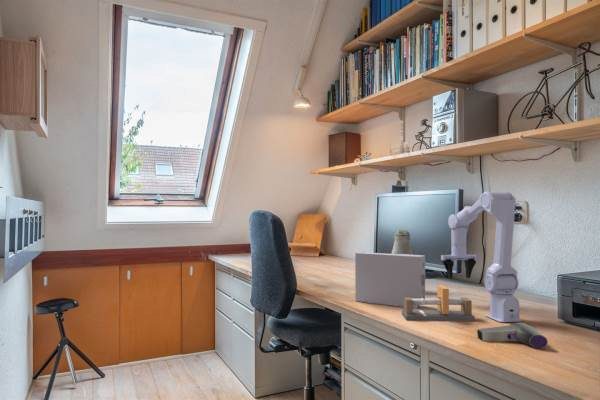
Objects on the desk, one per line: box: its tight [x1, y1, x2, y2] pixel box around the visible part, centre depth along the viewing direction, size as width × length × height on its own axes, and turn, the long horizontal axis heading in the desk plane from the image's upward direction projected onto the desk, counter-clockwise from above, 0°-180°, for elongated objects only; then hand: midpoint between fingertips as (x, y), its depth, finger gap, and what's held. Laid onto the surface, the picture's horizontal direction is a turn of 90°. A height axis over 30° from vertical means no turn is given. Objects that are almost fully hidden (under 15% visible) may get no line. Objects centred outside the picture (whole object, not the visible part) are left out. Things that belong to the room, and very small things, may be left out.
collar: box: [436, 284, 450, 314], centre depth 151 cm, size 2×7×9 cm, turn 177°
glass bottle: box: [391, 229, 413, 255], centre depth 201 cm, size 10×10×28 cm
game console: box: [354, 251, 426, 309], centre depth 173 cm, size 6×27×20 cm, turn 59°
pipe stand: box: [401, 297, 476, 322], centre depth 151 cm, size 23×8×7 cm, turn 87°
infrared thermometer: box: [476, 322, 549, 349], centre depth 122 cm, size 5×12×15 cm
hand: (459, 277), depth 174 cm, fingers open, 7 cm apart
